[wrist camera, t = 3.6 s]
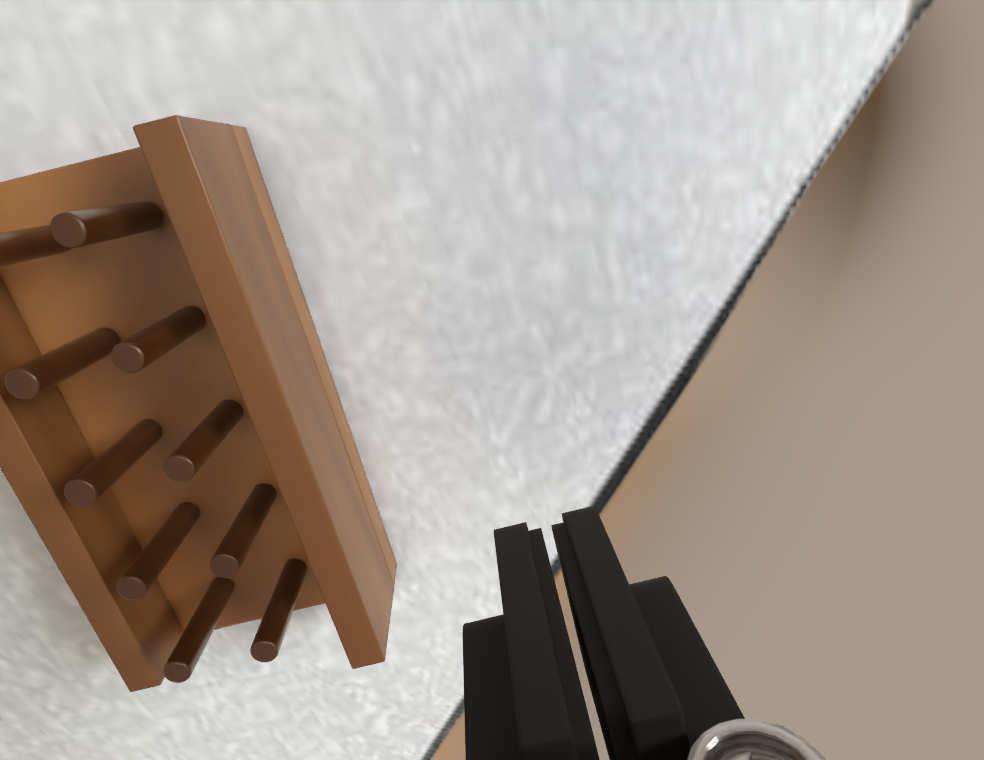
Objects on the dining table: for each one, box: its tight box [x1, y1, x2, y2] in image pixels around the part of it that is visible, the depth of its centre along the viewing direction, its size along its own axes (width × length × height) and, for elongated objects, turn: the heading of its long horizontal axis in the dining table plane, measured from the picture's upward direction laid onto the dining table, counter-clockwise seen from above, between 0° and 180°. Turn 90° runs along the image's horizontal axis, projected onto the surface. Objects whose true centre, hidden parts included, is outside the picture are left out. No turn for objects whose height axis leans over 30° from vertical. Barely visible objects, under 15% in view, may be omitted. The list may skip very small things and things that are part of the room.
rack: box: [0, 115, 397, 692], centre depth 21 cm, size 10×18×6 cm, turn 13°
